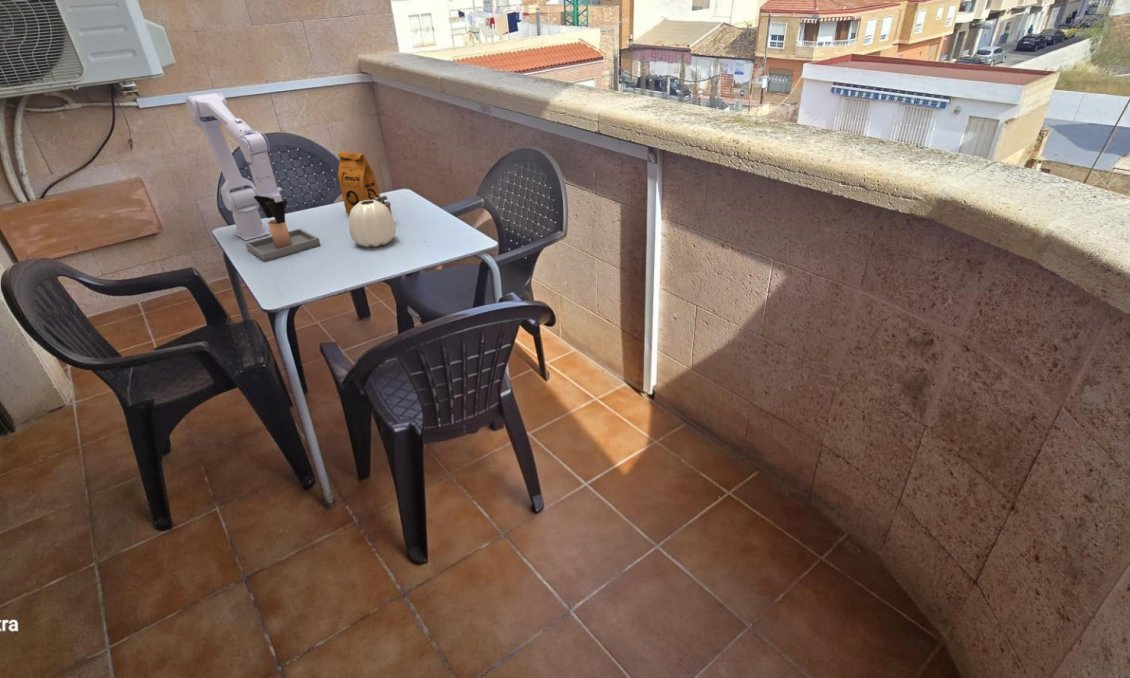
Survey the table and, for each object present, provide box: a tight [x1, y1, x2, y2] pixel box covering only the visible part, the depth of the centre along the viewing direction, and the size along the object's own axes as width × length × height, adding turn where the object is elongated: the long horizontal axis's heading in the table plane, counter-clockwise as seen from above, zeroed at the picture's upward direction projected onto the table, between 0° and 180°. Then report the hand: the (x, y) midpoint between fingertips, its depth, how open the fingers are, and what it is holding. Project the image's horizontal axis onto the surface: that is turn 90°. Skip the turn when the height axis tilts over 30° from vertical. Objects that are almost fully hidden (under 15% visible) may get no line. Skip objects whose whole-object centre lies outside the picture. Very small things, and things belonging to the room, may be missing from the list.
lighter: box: [374, 195, 393, 216], centre depth 196 cm, size 8×3×10 cm, turn 143°
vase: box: [348, 200, 397, 248], centre depth 182 cm, size 14×14×13 cm
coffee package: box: [337, 151, 381, 215], centre depth 204 cm, size 10×12×22 cm
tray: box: [245, 228, 321, 263], centre depth 182 cm, size 14×18×2 cm
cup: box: [267, 219, 292, 249], centre depth 180 cm, size 5×5×8 cm
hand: (276, 220), depth 178 cm, fingers open, 7 cm apart
